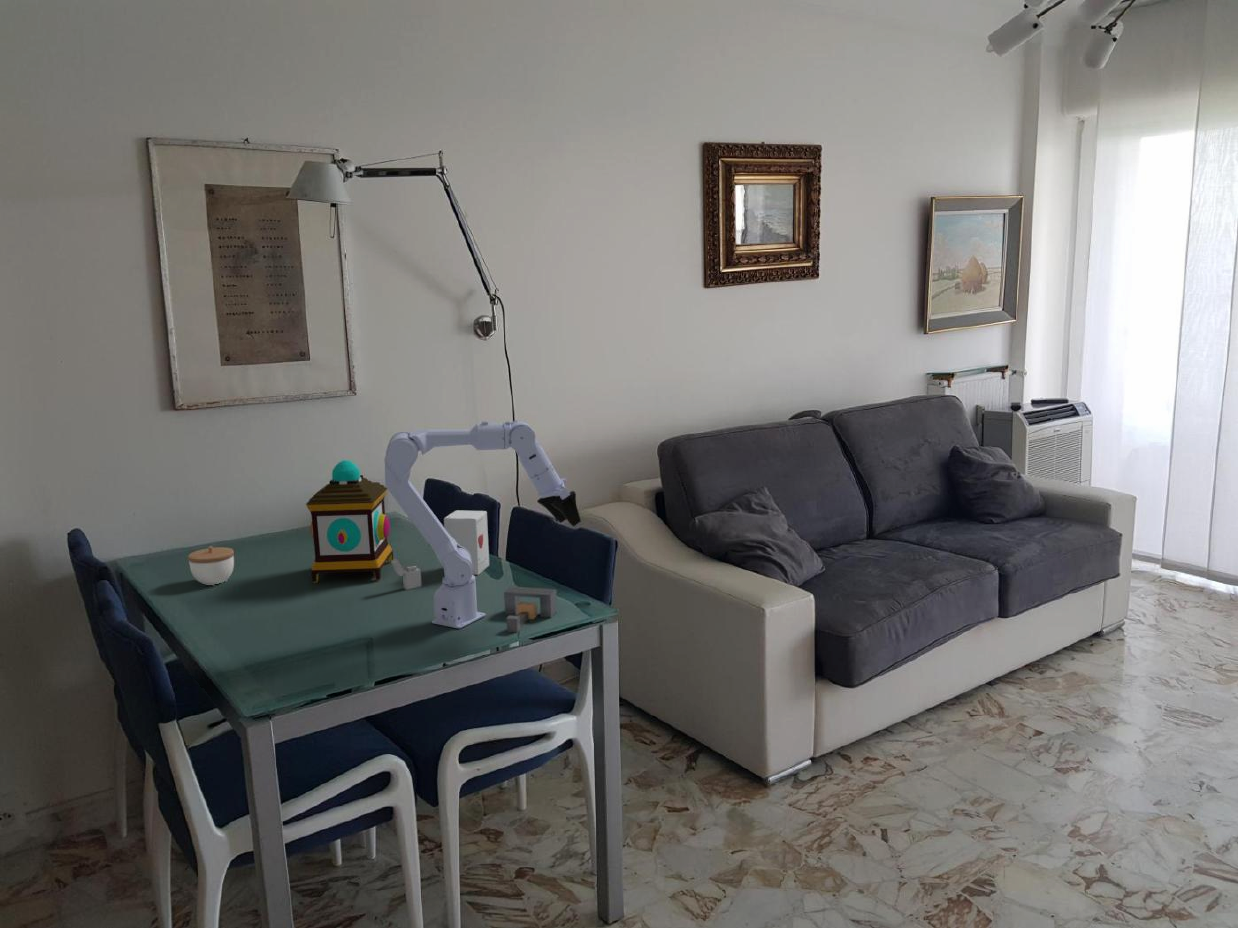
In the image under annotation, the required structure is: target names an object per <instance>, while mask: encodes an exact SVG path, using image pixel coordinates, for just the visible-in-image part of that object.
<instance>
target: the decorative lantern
mask: <svg viewBox="0 0 1238 928" xmlns="http://www.w3.org/2000/svg"><path fill="white" fill-rule="evenodd" d="M387 490H388V489H387V487H386V486H385V484H384V485H383V484H381V483H380V482H378V481H375V482H374V481H371V480H368V478H365V477H364V475H363V474H362V475H361V472H360V468H359V466H357V465H356V463H354V462H353V461H351V460H347V459H343V460H341V461H339V462H338V463H337V464H336V465H335V466H334V467H333V469H332V471H331V480H329V483H328V484H325V486H323V487H321V488H320V489H319V490H318V491H317V492H316V493H314V494H313V495H312V497H311V498H309V500H308V501H307V502H306V503H305V504H306V508H307V509H308V511H309V512H310V515H311V523H310V534H311V537H312V539H313V547H314V549H313V550H314V561H313V564H312V567H311V569H310V576H311V577H310V578H311V581H312V582H313V584H316V583H318V582H319V574H320V573H322V574H323V573H325V574H326V573H350V572H351V573H352V572H372V573H373V575H374V579H375V581H377V582H379V581H380V580H381V575H382V574H381V573H382V568H383V566H384V565H385V564H386V562H387V563H390V564H391V561H392V560H394V551H393V549H392V547H391V546H390V544H389V542H388V537H389V534H390V532H391V531H390V530H391V529H390V528H391V527H390V520H389V517H388V516H387V515H386V509H385V508H386V507H385V497H386V494H387Z"/></svg>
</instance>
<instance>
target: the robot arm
mask: <svg viewBox="0 0 1238 928" xmlns="http://www.w3.org/2000/svg"><path fill="white" fill-rule="evenodd" d="M468 445H470V446H473V447H474V448H475V449H476V450H477V451H493V450H494V451H495V450H496V451H497V450H499V451H500V450H507V449H509V448H511V449H513V450H514V451H515V452H516V454H517V456H518V459H519V462H520V464H521V465H522V467H523V469H524V470H525V473H526V474H527V476H528V477H529V479H530V480H531V483H532V484H533V486H534V488H535V489H536V491H537V493H538V496H539V499H537V500H536V502H537V503H538V504H540V505H541V506H542V507H543V508H545V509H546V510H547V511H548V512H549V513H550V514H551V515H552V517H554V518H555V520H557V521H558V523H560V524H561V523H563V522H565V521H568V523H569V524H570V525H571V526H572V527H575V526H576V525H578V524H579V523H581V521H582V519H581V516H580V514H579V513H580V512H579V509H578V506H577V499H576V498H577V496H576V495H577V494H576V491H575V490H571V491H569V490H568V488H567V487H566V486H565V483H567V481H568V480H567V478H565V477H562V478H560V476H559V475H558V473H557V471H556V470H555V467H554V466H553V464H552V463H551V460H550V459H549V457H548V455H547V453H546V451H545V450H544V448H543V447H542V446H540V442H539V441H538V439H536V433H535V431H534V430H533V429H532V427H531V426H530V425H529V424H528V423H526V422H525V421H520V420H513V421H510V420H506V421H505V422H501V423H500V422H499V423H498V422H497V423H489V421H488V420H481V423H476V424H475V425H474V426H473V427H472V428H471V429H415V430H413V429H412V430H410V431H408V432H407V431H399V432H397V433H394V434H393V435H392V436H391V437H390V439H389V442H388V445H387V447H386V451H385V457H384V486H385V487H386V488H387V490H388V492H389V494H390V495H391V496H392V497H393V498H394V500H395V501H396V502H397V504H398V505H399V506H400V507H401V510H402V511H403V512H404V513H405V514H406V516H407V517H408V518H409V519H410V521H411V522H412V524H413V525H414V526H415V528H416V529H417V530H418V532H419V534H420V535H422V537H423V538H424V540H425V542H427V543H428V545H429V546H430V547H431V549H432V550H433V552H434V554H435V556H436V557H437V558H436V559H437V560H438V562H439V563H440V565H441V566H442V567H443V574H444V577H442V583H441V585H440V587H439V588H437V589H436V590H435V592H434V594H433V597H432V598H433V612H434V613H433V614H434V619H433V620H432V621H431V623H432V624H435V625H439V626H444V627H450V628H453V629H462V628H463V627H466V626H467V625H469V624H473V622H475V621H478V620H479V619H481V618H484V617H485V616H486V613H485V612H481V611H478V604H477V603H478V602H477V583H476V576H475V575H473V571H474V569H473V565H472V557H471V554H470V552H469V551H468V550H467V549H466V548H464V547H462V546H460V545H459V544H458V543H457V542H456V541H455V539H453V538H452V537H451V536H450V535H449V533H448V532H447V531H446V529H445V528H444V524H442V523H441V521H440V520H439V519H438V517H437V516H436V514H434V512H433V510H432V509H431V508H430V507H429V505H428V504H427V502H426V501H425V500H424V499H423V497H422V496H421V495H420V493H419V491H418V490H417V489H416V487H415V486H414V485H413V483H412V482H411V481H410V475H411V470H412V468H413V466H414V464H415V463H416V461H417V459H418V456H419V452H420V453H421V455H422V456H424V455H426V454H427V453H428V452H430V451H431V450H432V449H434V448H437V447H438V448H440V447H441V448H442V447H453V446H455V447H457V446H468Z"/></svg>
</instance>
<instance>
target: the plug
mask: <svg viewBox="0 0 1238 928" xmlns="http://www.w3.org/2000/svg"><path fill="white" fill-rule="evenodd" d="M537 610H538V609H537V602H529V601H528V602H526V601H521V603H519V604H518V605H517V611H518V613H517V615H508V616H507V617H506V632H507V633H509V632H510V633H511V632H512V633H518V632H520V630H521V628H522V626H524V624H526V623H527V622H528V621H529V620H534V619H535V618H536V617H537V616H538V613H537V612H538V611H537Z"/></svg>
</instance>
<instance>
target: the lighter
mask: <svg viewBox="0 0 1238 928" xmlns="http://www.w3.org/2000/svg"><path fill="white" fill-rule="evenodd" d="M390 564H391V565H392V567H393V569H394V570H395V572H396V574H397V575H398V576H399V577H402V580H403V581H402V582H403V589H405V590H407V591H408V590H412V589H416V588H420V587H422V572H421V569H420V568H418V567H417V566H416V565H415V566H414V565H411V566H407V567H406V570H405V569H404V568H403V566H402V565H401V563H400V561H399V560H398V559H396V558H393V560H392V561H391V563H390Z"/></svg>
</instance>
